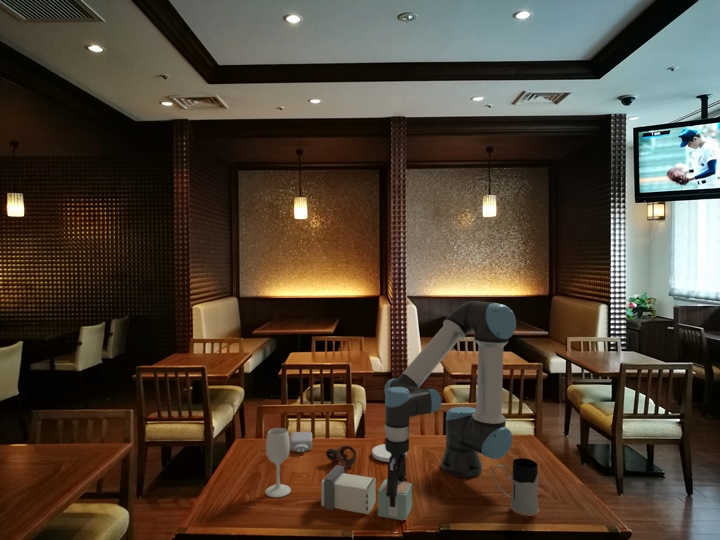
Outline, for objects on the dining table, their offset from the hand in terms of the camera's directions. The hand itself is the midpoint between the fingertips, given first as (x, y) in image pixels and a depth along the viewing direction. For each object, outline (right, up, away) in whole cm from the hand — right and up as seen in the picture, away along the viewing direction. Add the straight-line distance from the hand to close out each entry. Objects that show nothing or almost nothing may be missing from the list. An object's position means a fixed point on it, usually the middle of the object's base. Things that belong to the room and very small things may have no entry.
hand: (396, 508), depth 149 cm
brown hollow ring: (-19, -1, +35) cm, 40 cm away
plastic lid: (0, -1, +42) cm, 42 cm away
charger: (-36, 0, +49) cm, 61 cm away
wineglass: (-40, -1, +14) cm, 42 cm away
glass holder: (+39, -2, +3) cm, 39 cm away
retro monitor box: (0, -1, 0) cm, 1 cm away
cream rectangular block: (-15, -1, +5) cm, 16 cm away
